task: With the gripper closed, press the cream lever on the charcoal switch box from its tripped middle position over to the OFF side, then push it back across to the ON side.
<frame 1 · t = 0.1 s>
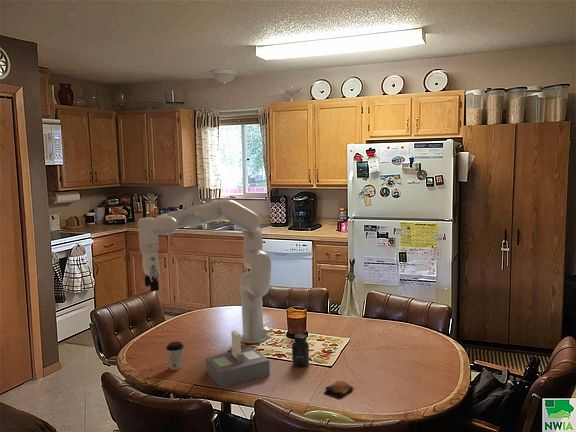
hand: (151, 288, 202), 31 cm above the table, tool pointing down, fingers open, 9 cm apart
coffee cup: (176, 368, 198), on the table
bread roll: (339, 392, 173), on the table
supplement bottle: (300, 364, 197), on the table
switch box: (237, 373, 190), on the table
switch lever: (236, 345, 189), point 11 cm above the table, hinge at 0.0°
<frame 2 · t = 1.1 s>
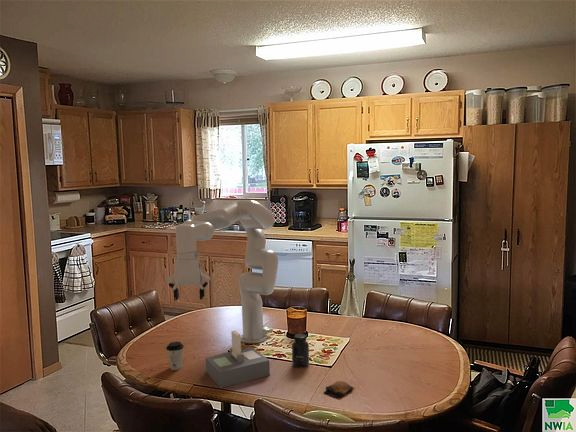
hand: (189, 298, 191), 29 cm above the table, tool pointing down, fingers open, 9 cm apart
nothing on the table moved.
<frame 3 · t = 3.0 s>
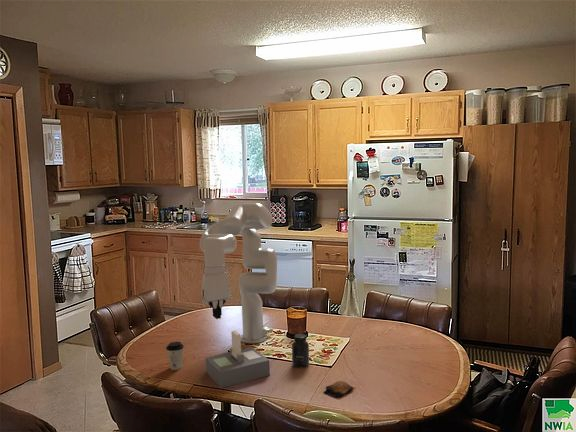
hand: (217, 317, 184), 24 cm above the table, tool pointing down, fingers closed
nothing on the table moved.
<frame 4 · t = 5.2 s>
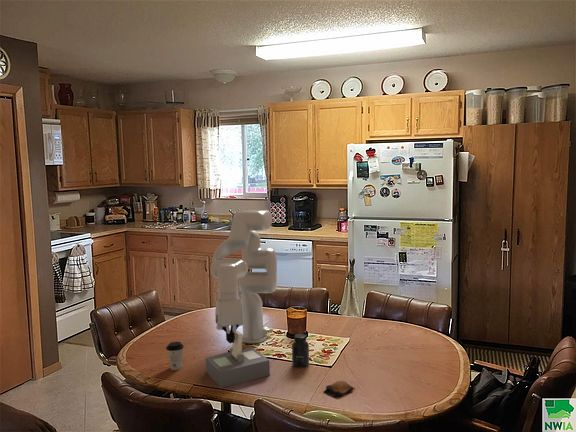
hand: (230, 342, 187), 13 cm above the table, tool pointing down, fingers closed
switch lever: (237, 345, 189), point 11 cm above the table, hinge at -5.6°, touching gripper
everything else where it was.
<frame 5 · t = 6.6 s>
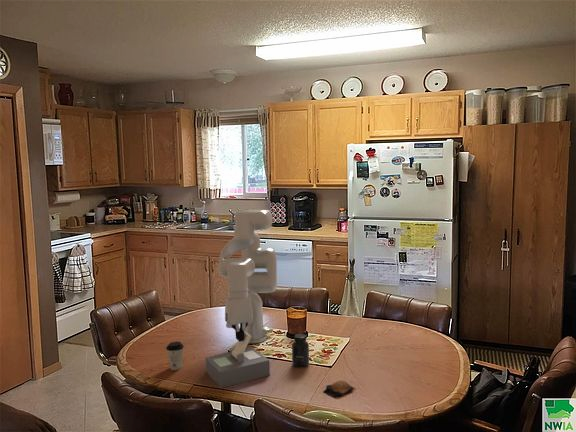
hand: (240, 340, 189), 13 cm above the table, tool pointing down, fingers closed
switch lever: (241, 345, 190), point 11 cm above the table, hinge at -31.8°, touching gripper
everything else where it was.
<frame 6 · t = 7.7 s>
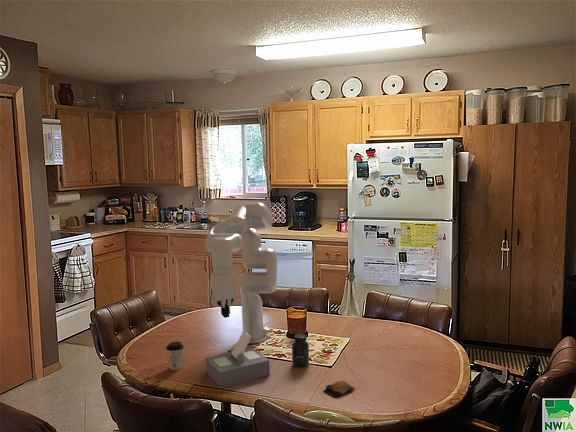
hand: (225, 316, 186), 23 cm above the table, tool pointing down, fingers closed
switch lever: (241, 345, 190), point 11 cm above the table, hinge at -31.9°
everything else where it was.
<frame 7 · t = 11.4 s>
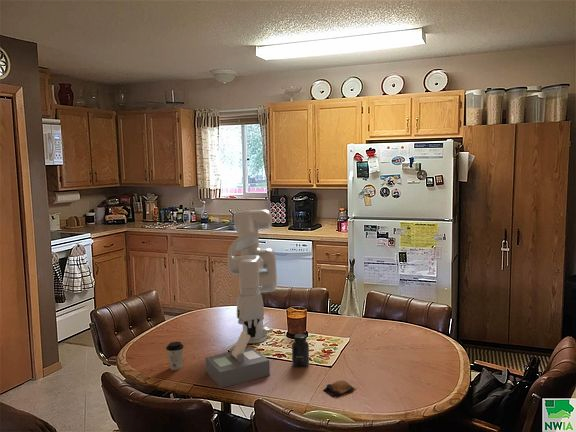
hand: (251, 336, 192), 14 cm above the table, tool pointing down, fingers closed
switch lever: (241, 345, 190), point 11 cm above the table, hinge at -29.2°, touching gripper
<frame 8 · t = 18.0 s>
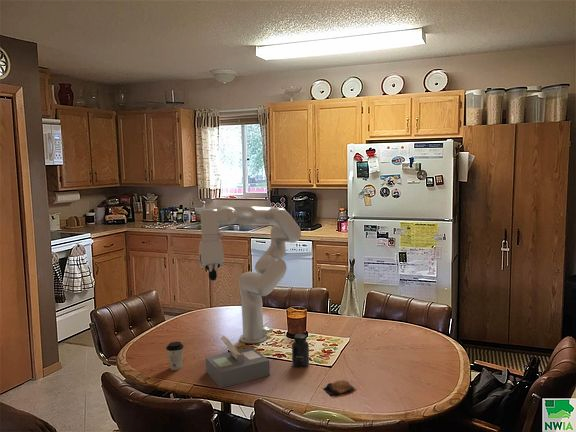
hand: (212, 279, 210), 32 cm above the table, tool pointing down, fingers closed
switch lever: (231, 348, 188), point 11 cm above the table, hinge at 32.4°
at the end: switch lever at +32° (first picture: +0°) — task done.
